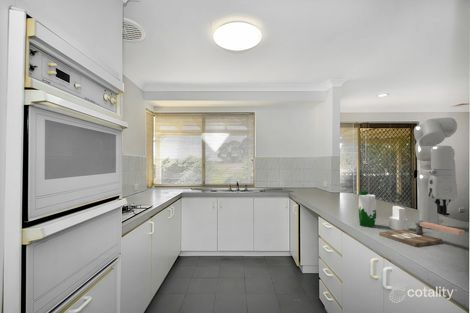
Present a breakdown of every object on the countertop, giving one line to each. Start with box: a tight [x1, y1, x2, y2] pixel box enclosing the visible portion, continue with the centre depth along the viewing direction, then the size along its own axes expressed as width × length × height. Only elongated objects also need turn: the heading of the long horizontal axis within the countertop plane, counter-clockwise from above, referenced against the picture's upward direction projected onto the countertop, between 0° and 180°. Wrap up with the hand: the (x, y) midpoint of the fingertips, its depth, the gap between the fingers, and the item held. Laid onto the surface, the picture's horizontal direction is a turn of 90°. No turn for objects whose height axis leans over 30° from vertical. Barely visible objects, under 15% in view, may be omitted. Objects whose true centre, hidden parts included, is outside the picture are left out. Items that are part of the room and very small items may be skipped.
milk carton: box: [358, 190, 377, 228], centre depth 145 cm, size 9×9×20 cm
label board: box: [378, 225, 444, 248], centre depth 120 cm, size 18×18×6 cm
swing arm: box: [415, 220, 466, 236], centre depth 115 cm, size 19×4×2 cm, turn 19°
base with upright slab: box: [388, 205, 410, 231], centre depth 138 cm, size 9×9×12 cm
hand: (441, 213), depth 110 cm, fingers closed
